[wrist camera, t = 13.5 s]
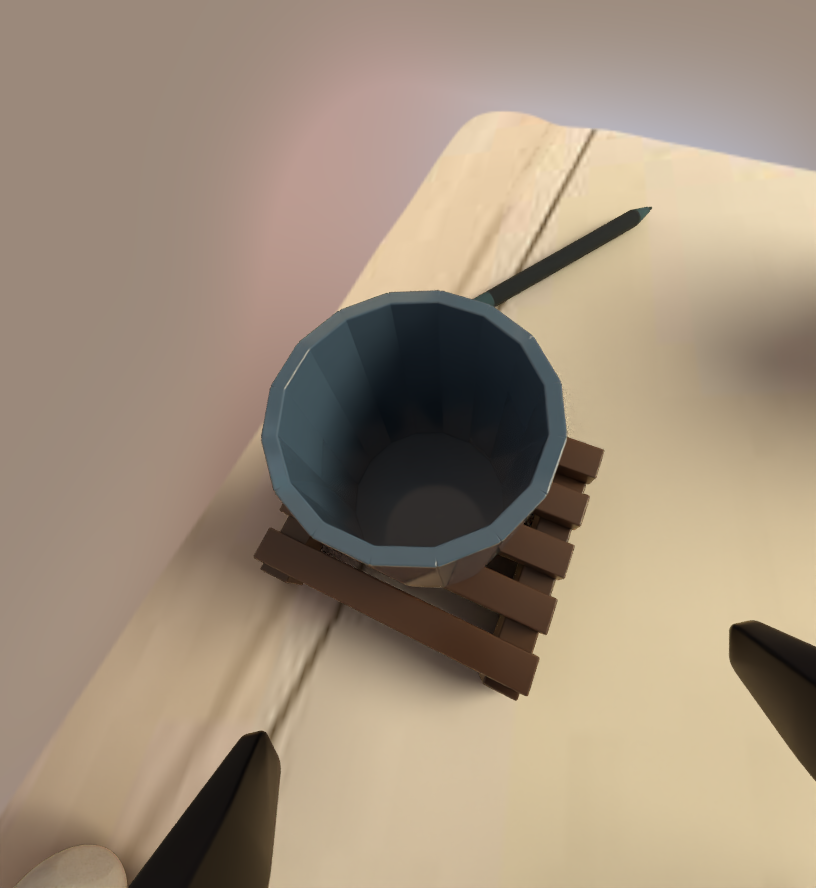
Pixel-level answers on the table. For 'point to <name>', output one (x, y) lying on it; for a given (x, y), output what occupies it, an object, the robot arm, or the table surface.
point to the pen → (563, 257)
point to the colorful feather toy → (77, 870)
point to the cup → (415, 434)
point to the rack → (463, 582)
